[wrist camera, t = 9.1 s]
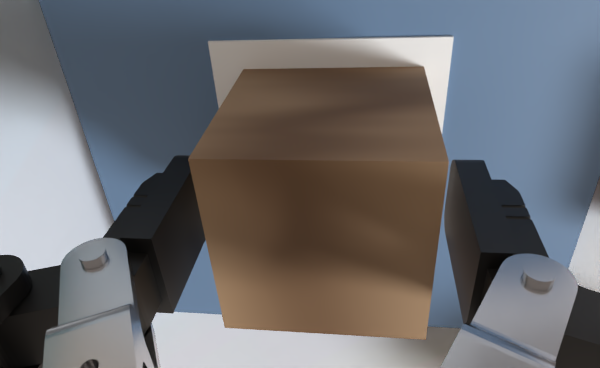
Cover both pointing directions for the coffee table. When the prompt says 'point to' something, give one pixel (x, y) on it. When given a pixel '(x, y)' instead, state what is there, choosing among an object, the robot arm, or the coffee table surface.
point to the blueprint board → (347, 54)
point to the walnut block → (324, 200)
